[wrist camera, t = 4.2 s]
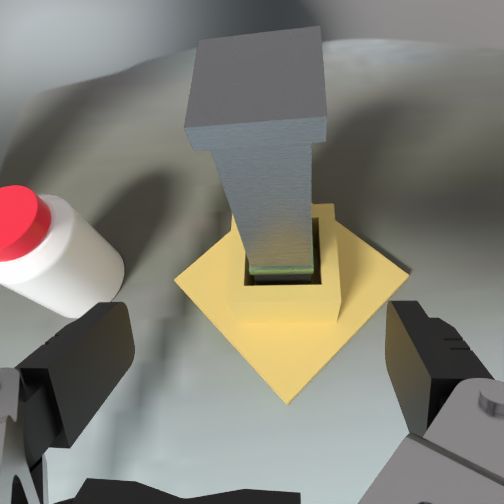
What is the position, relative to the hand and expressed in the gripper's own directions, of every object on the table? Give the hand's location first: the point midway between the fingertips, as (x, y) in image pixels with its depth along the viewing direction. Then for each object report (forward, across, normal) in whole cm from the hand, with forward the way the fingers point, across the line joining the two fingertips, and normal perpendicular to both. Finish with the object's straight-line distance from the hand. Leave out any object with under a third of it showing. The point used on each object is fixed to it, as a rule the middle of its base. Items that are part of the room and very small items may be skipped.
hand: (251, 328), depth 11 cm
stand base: (+20, 0, +7) cm, 21 cm away
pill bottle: (+20, +19, +6) cm, 29 cm away
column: (+19, 0, +6) cm, 20 cm away
